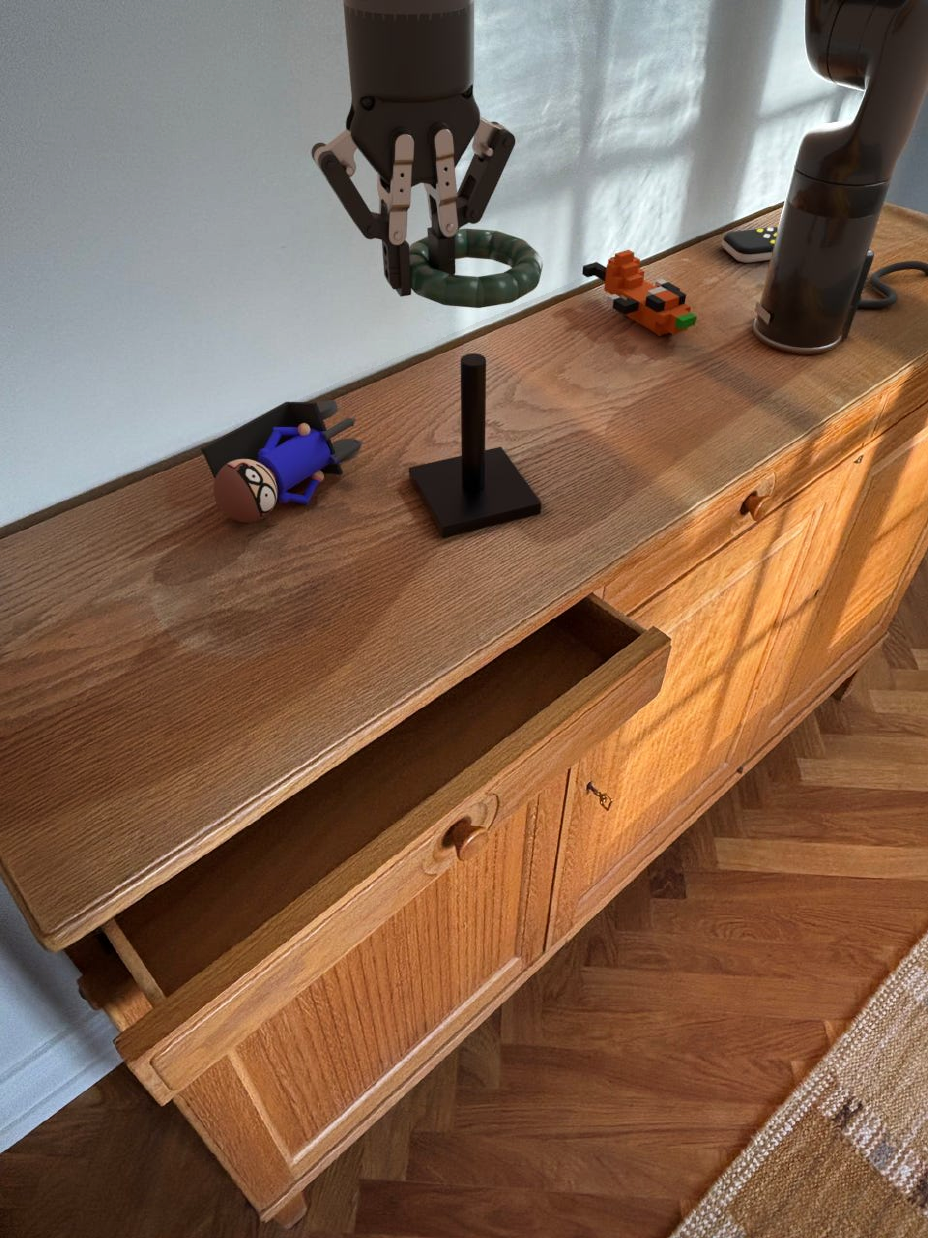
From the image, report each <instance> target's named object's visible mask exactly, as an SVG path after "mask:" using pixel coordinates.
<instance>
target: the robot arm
mask: <svg viewBox="0 0 928 1238" xmlns="http://www.w3.org/2000/svg"><path fill="white" fill-rule="evenodd" d="M342 1H343V2H342V3H343V13H344V14H343V15H344V27H345V36H346V37H345V38H346V48H347V49H346V50H347V60H348V71H349V72H348V73H349V84H350V85H349V86H350V93H351V94H350V95H351V101H350V108H349V111H348V113H347V115H346V119H345V130H344V131H343V132H341V133H340V134H339V135H337V136H336V137H335V138H333V139H332V140H331V141H330V142H328V143H327V144H326V143H324V142H317V143H315V144H314V145H313V146H312V148H311V152H310V153H311V154H310V155H311V159H312V160H313V161H314V163H315V164H316V166H317V167H318V169H319V171H320V172H321V174H322V175H323V177H324V178H325V180H326V181H327V183H328V185H329V186H330V189H332V191H333V192H334V194H335V195H336V197H337V198H338V201H339V202H340V203H341V206H343V208H344V209H345V211H346V213H347V214H348V215H349V217H350V219H351V220H352V222H353V223H354V225H355V226H356V228H357V229H358V230H359V232H360V233H361V234H362V236H363V237H364V238H365V239H367V240H374V239H378V240H380V241H381V249H382V261H383V262H382V263H383V276H384V278H385V280H386V281H387V283H388V284H389V286H390V287H391V289H392V290H393V291H394V290H395V291H396V293H397V294H398V295H399V296H400V297H401V298H403V297H407V296H411V295H412V289H411V284H410V282H411V275H410V255H409V246H410V244H409V242H408V241H407V240H406V239H407V228H408V211H409V209H410V207H411V195H412V188H413V187H415V186H417V185H419V184H423V186H424V190H425V192H426V197H427V198H426V199H427V205H428V212H429V213H428V215H429V219H430V222H431V227H427V228H426V229H427V230H426V231H427V236H428V260H429V265H430V266H431V267H432V268H434V269H437V270H439V271H442V272H445V273H447V274H450V275H456V259H455V235H456V233H457V231H458V229H462V227H464V226H465V225H467V224H471V225H476V224H478V223H479V222H480V221H481V220H482V218H483V216H484V213H485V211H486V209H487V207H488V205H489V203H490V201H491V199H492V196H493V194H494V192H495V190H496V187H497V185H498V183H499V181H500V179H501V177H502V175H503V173H504V170H505V168H506V166H507V163H508V161H509V159H510V157H511V154H512V153H513V150H514V148H515V146H516V137H515V134H513V133H512V132H511V131H510V130H509V129H508V128H507V127H505V126H504V125H502V124H500V123H499V122H497V121H489V120H487V119H486V118H484V117H482V116H481V111H480V107H479V105H478V104H477V102H476V98H475V95H474V83H475V0H342ZM803 10H804V12H803V17H804V18H803V37H804V38H803V39H804V49H805V56H806V59H807V63H808V65H809V69H810V70H811V71H812V73H813V74H814V75H815V76H816V77H817V78H819V79H821V80H823V81H826V82H828V83H831V84H833V85H838V86H842V87H845V88H850V89H853V90H858V91H862V92H863V96H862V99H861V100H860V103H859V106H858V109H857V111H856V113H855V115H854V117H853V118H851V119H849V120H843V121H834V122H829V123H824V124H820V125H816V126H814V127H811V128H810V129H808V130H807V131H805V133H803V135H802V136H801V138H800V140H799V143H798V146H797V150H796V154H795V158H794V162H793V165H792V170H791V174H790V178H789V181H788V186H787V190H786V195H785V198H784V203H783V207H782V212H781V215H780V219H779V223H778V226H779V227H778V226H777V227H778V231H777V235H776V239H775V243H774V247H773V251H772V255H771V259H770V260H769V264H768V268H767V271H766V276H765V280H764V285H763V288H762V292H761V296H760V301H759V302H758V301H756V302H755V307H754V312H755V313H756V317H755V319H754V321H753V325H752V332H753V334H754V336H755V338H757V340H759V341H760V342H762V343H763V344H765V345H767V346H768V347H770V348H772V349H775V350H779V351H782V352H786V353H791V354H800V355H813V354H814V355H815V354H822V353H827V352H829V351H831V350H834V349H835V348H837V346H838V345H839V344H840V343H841V341H843V340H847V339H848V336H849V333H850V330H851V327H852V325H853V321H854V319H855V316H856V313H857V309H862V310H863V309H864V310H876V309H877V310H878V309H884V308H885V309H886V308H888V307H891V306H893V305H894V304H896V303H897V302H898V298H899V295H898V292H897V291H896V290H895V289H893V288H892V287H891V286H889V285H888V284H886V283H885V282H883V281H882V280H881V279H880V278H882V277H884V276H887V275H889V274H892V273H896V272H900V271H906V270H907V271H909V270H916V271H921V272H923V273H924V274H925V276H927V277H928V263H927V262H924V261H920V260H906V261H900V262H895V263H892V264H888V265H886V266H884V267H881V268H879V269H878V270H876V271H874V272H873V273H872V274H871V275H870V277H869V283H870V284H871V286H872V287H874V288H875V289H876V290H877V291H879V292H880V293H882V294H883V295H885V296H886V297H887V298H883V299H862V294H863V292H864V289H865V285H866V282H867V279H868V275H869V273H870V270H871V267H872V264H873V262H874V258H875V252H874V251H873V250H872V249H871V248H870V247H871V244H872V241H873V238H874V235H875V233H876V228H877V225H878V223H879V219H880V216H881V214H882V211H883V206H884V203H885V201H886V197H887V195H888V191H889V188H890V185H891V182H892V179H893V176H894V173H895V170H896V167H897V164H898V161H899V159H900V157H901V155H902V153H903V151H904V149H905V147H906V146H907V143H908V141H909V140H910V137H911V135H912V133H913V130H914V129H915V125H916V122H917V120H918V117H919V114H920V111H921V108H922V106H923V102H924V100H925V98H926V95H927V93H928V0H804V9H803ZM472 139H473V140H472ZM471 141H472V144H471V148H472V150H473V156H472V158H471V160H470V163H469V164H468V167H467V170H466V171H465V174H464V177H463V179H462V181H461V183H460V186H459V188H458V187H457V177H456V176H457V175H456V168H457V166H458V164H459V162H460V161H461V159H462V157H463V156H464V154H465V152H466V150H467V148H468V147H469V145H470V143H471ZM357 150H359V152H360V153H361V154H362V156H363V157H364V159H366V161H367V162H368V163H369V165H370V166H371V167H372V168H373V169H374V171H375V172H376V174H377V175H376V190H377V195H378V212H374V211H371V210H370V208H369V207H368V205H367V203H366V201H365V200H364V198H363V196H362V195H361V193H360V192H359V190H358V189H357V186H356V185H355V184H354V182H353V180H352V179H351V178H352V177H353V176H354V175H355V173H356V170H357V166H356V161H355V159H354V158H355V157H354V155H355V152H356V151H357Z"/></svg>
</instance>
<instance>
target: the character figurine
mask: <svg viewBox="0 0 928 1238" xmlns="http://www.w3.org/2000/svg"><path fill="white" fill-rule="evenodd" d="M338 412H339V407H338V404H337V401H336V400H334V399H327V400H321V401H318V402H316V401H285V402H282V403H281V404H279V405H277V406H275V407H274V408H272V409H270V410H268V411H266V412H265V413H263V414H260V415H258V416H257V417H255V418H254V419H252V420H250V421H248V422H246V423H244V424H242V425H241V426H239V427H237V428H236V429H233V430H232V431H230V432H228V433H226V434H225V435H222V436H221V437H219V438H217V439H215V440H214V441H212V442H210V443H208V444H206V445H204V446H203V447H200V451H201V452H202V455H203V457H204V460H205V461H206V463H207V466H208V467H209V470H210V472H211V474H212V476H213V479H214V482H213V496H214V500H215V502H216V504H217V506H218V508H219V509H220V510H221V512H223V514H224V515H226V516H227V517H228V518H230V519H232V520H233V521H236V522H241V523H255V522H259V521H261V520H263V519H264V518H266V517H267V516H268V515H269V514H270V513H271V512H272V511H273V509H274V507H275V505H276V503H277V501H278V502H279V503H281V504H287V503H288V502H292V503H297V504H304V505H308V504H309V503H310V500H311V498H312V496H313V494H314V493H315V491H316V489H317V487H318V485H319V483H321V482H323V481H324V480H325V479H324V478H325V475H324V474H330V475H339V476H342V475H343V474H344V471H343V469H342V467H341V463H344V462H347V461H348V460H350V459H352V458H354V457H355V456H357V455H358V454H359V453H360V450H361V448H362V445H363V442H364V440H357V439H356V438H343V439H338V440H336V441H332V440H331V439H332V438H334V437H336V436H337V435H339V434H341V433H342V432H344V431H346V430H348V429H349V428H351V427H353V426H354V425H355V422H356V420H357V418H353V417H346V418H344V419H343V420H341V421H339V422H338V423H336V424H334V425H333V426H331V427H330V428H327V427H326V423H325V422H324V421H325V420H327V419H330V418H331V417H333V416H334V415H336V414H337V413H338ZM309 477H310V481H309V483H308V484H307V486H306V488H305V490H304V492H303V494H297V493H291V492H288V490H290V489H291V488H293V487H295V486H297V485H298V484H300V483H302V482H303V481H305V480H306V479H308V478H309Z"/></svg>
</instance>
